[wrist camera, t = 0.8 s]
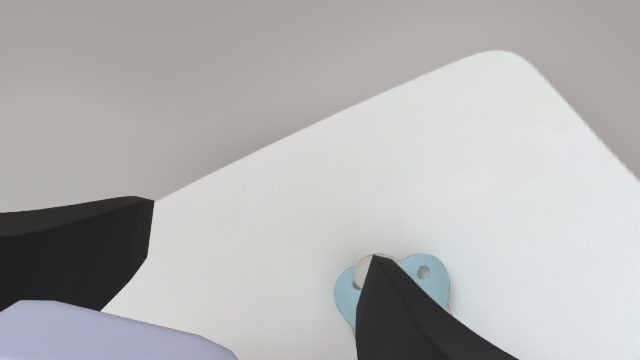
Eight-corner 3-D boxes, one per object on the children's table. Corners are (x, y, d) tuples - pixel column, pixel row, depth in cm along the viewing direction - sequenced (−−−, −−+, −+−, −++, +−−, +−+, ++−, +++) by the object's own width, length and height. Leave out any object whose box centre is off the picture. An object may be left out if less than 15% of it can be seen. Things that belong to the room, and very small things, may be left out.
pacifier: (468, 352, 23) (444, 255, 26) (460, 343, 18) (432, 223, 21) (352, 364, 25) (342, 274, 28) (315, 360, 20) (308, 250, 23)
